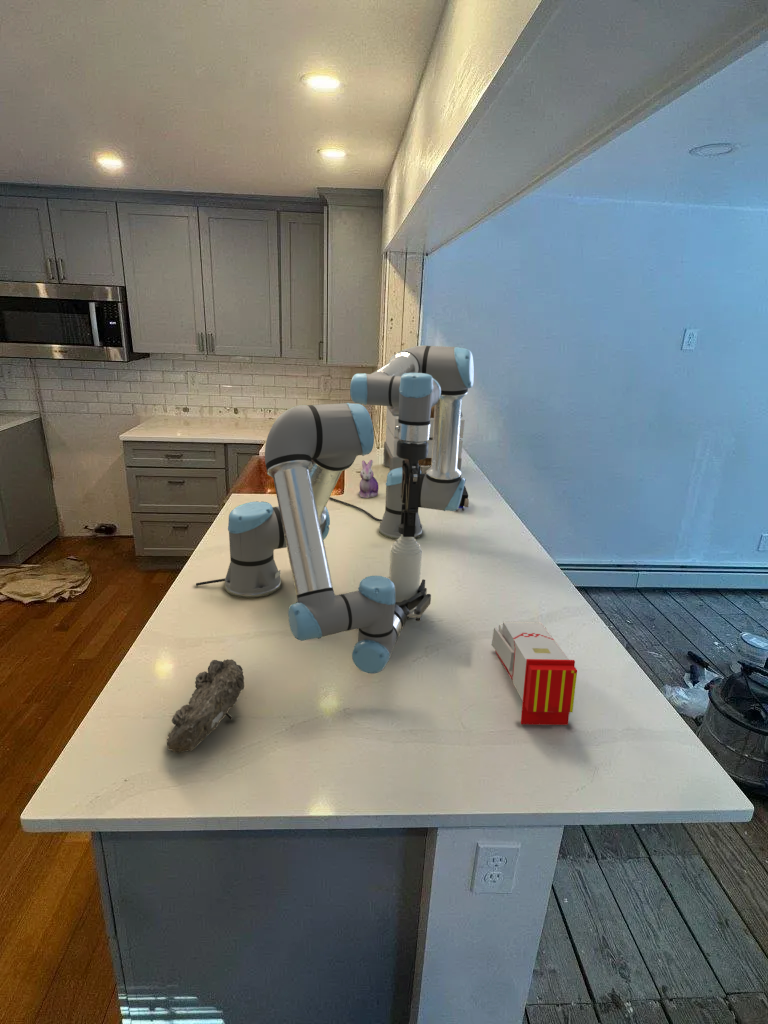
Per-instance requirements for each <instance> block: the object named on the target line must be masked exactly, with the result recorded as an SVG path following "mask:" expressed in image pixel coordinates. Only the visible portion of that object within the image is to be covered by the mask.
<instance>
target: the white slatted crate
mask: <svg viewBox="0 0 768 1024" xmlns="http://www.w3.org/2000/svg"><path fill="white" fill-rule="evenodd" d="M385 414H386V415H385V423H386V428H385V438H384V442H383V466H384V467H388V468H389V472H390V471H391V470H393V469H396V468H401V467H402V461H403V460H405V459H402V458H399V457H398V456H397V455H396V451H397V441H398V440H399V439H398V438H397V436H398V430H395V427H396V426H399V425H398V416H399V407H391V406H386V413H385ZM433 425H434V406H433V407H431V415H430V435H429V440H428V441H427V442H428V444H429V446H428V456H427V458H425V459H423V460H422V459H421V460H419V461H418V463H419V466H420V467H431V462H432V443H433ZM464 429H465V419H464V418H463V411H461V421H460V434H459V448H458V461H457V468H458V469H459V470H460V471H461V472H462V461H463V460H462V453H463V442H464V441H463V440H462V439H463V438H464V431H465V430H464Z"/></svg>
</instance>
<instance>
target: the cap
mask: <svg viewBox="0 0 768 1024" xmlns="http://www.w3.org/2000/svg"><path fill="white" fill-rule="evenodd" d="M403 528H404V523H403V524H400V525H399V533H400V534H402V535H403ZM415 534H416V526H415Z"/></svg>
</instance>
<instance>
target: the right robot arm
mask: <svg viewBox="0 0 768 1024" xmlns="http://www.w3.org/2000/svg"><path fill="white" fill-rule="evenodd" d="M474 366H475V365H474V356H473V352H472V351H471V350H470V349H469V348H465V347H458V346H443V345H442V346H441V345H415V346H411V347H406V348H404V349H402V350H400V351H398V352H396V353H394V354H393V355H392V356H391V357H390V358H389V360H388V362H387V363H385V364H383V365H382V366H381V367H379V368H377V369H376V370H374V371H373V372H371V373H365V372H364V373H355V374H354V375H352V378H351V381H350V385H349V386H350V387H349V394H350V399H351V401H352V402H353V403H354V404H361V405H363V406H379V407H387V406H391V407H399V416H398V425H399V426H396V427H395V430H398V436H397V438H398V439H399V440H398V441H397V451H396V455H397V456H398V457H399V458H402V459H405V460H403V461H402V467H401V468H396V469H393V470H391V471H390V470H389V472H388V473H387V475H386V482H385V504H384V505H385V507H384V508H385V509H384V513H383V515H382V519H381V518H377V517H375V516H373V515H372V514H371V513H370V512H369V511H367V510H365V509H363V508H361V507H359V506H356V505H354V504H352V503H348V502H346V501H343V500H339V499H337V498H334V497H331V496H330V498H329V500H330V501H331V500H332V501H335V502H338V503H340V504H343V505H346V506H349V507H352V508H355V509H357V510H359V511H362V513H365V514H367V515H368V516H369V517H370V518H372V519H373V520H375V521H378V522H379V526H378V533H379V534H380V535H381V536H382V537H385V538H387V539H389V540H395V541H397V539H399V537H401V534H400V533H399V525H400V524H403V523H404V528H403V537H414V538H415V539H418V538H420V537H421V536H422V535H423V523H422V522H421V518H420V515H419V508H422V509H428V510H436V511H443V512H457V511H458V509H459V508H458V507H459V505H460V501H461V498H462V494H463V490H464V486H466V485H465V484H466V478H465V477H462V470H461V471H460V470H459V469H458V468H457V461H458V448H459V434H460V421H461V418H462V417H461V412H462V406H463V398H464V397H465V396H466V395H467V394H468V391H469V389H471V388H473V386H474V382H475V381H474V376H475V371H474V370H475V367H474ZM433 406H434V425H433V443H432V462H431V465H430V466H429V468H427V470H426V472H425V473H422V469H421V468H422V466H419V463H418V461H419V460H421V459H422V460H423V459H425V458H427V456H428V446H429V444H428V442H427V441H428V440H429V435H430V415H431V407H433ZM456 510H457V511H456ZM415 526H416V534H415Z"/></svg>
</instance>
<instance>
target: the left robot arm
mask: <svg viewBox="0 0 768 1024" xmlns="http://www.w3.org/2000/svg"><path fill="white" fill-rule="evenodd" d="M374 443H375V433H374V424H373V421H372V417H371V415H370V413H369V410H368V409H367V408H366V406H365V405H364V404H359V403H350V402H344V403H343V402H342V403H325V404H323V403H322V404H308V405H307V404H299V405H294V406H292V407H290V408H288V409H286V410H285V411H283V412H282V413H281V414H280V415H278V417H277V418H276V419H275V421H274V422H273V424H272V426H271V428H270V430H269V431H268V434H267V438H266V441H265V446H264V463H265V464H264V465H265V468H266V469H265V470H266V474H267V475H268V476H269V477H271V478H272V479H273V484H274V485H273V486H274V489H275V494H276V495H275V496H276V499H277V505H278V506H273V505H272V503H270V502H268V501H259V500H258V501H257V500H256V501H250V502H249V501H248V502H245V503H242V504H240V505H237V506H236V507H234V508H233V509H232V510H231V511H230V512H229V515H228V526H227V530H228V540H229V541H228V543H229V556H230V558H229V561H230V562H229V565H228V568H227V572H226V575H225V578H219V579H218V578H217V579H212V580H207V581H199V582H196V583H195V586H196V587H197V586H203V585H209V584H215V583H221V582H224V589H225V592H227V593H228V594H230V595H232V596H233V597H236V598H243V599H257V598H262V597H266V596H270V595H272V594H274V593H276V592H277V591H278V590H279V589H280V588H281V586H282V578H281V569H278V566H277V564H276V562H275V558H274V557H275V555H274V554H275V553H274V552H275V550H280V549H287V555H288V561H289V565H290V570H291V575H292V580H293V585H294V591H295V596H296V602H295V603H291V604H290V606H289V608H288V612H287V614H288V625H289V629H290V631H291V634H292V636H293V637H294V638H295V639H296V640H297V641H299V642H303V641H310V640H316V639H322V638H324V637H328V636H331V635H332V636H333V635H336V634H340V633H344V632H349V631H355V630H357V642H356V643H355V645H354V646H353V650H352V653H351V658H352V662H353V664H354V666H355V667H356V668H357V669H358V670H360V672H363V673H365V674H369V675H370V674H371V675H372V674H378V673H380V672H381V671H383V670H384V669H385V667H386V666H387V664H388V663H389V661H390V660H391V655H392V654H393V650H394V648H395V646H396V644H397V641H398V639H399V638H400V635H401V633H402V631H403V628H404V627H405V623H406V621H408V620H409V619H410V618H409V617H411V618H413V619H414V618H415V621H416V622H420V621H421V616H422V615H423V614H424V613H425V611H426V610H427V609H428V607H430V605H431V601H432V594H431V593H427V592H428V589H427V587H426V579H424V578H423V579H422V580H421V581H420V584H419V588H418V593H417V594H416V595H414V596H413V597H411V598H410V599H408V600H403V601H402V602H395V601H396V600H395V586H394V583H393V582H392V581H391V580H390V579H389V577H386V576H382V575H368V576H365V578H362V579H361V580H360V581H359V585H358V588H357V589H358V590H356V591H350V592H344V593H341V594H335V590H334V585H333V581H332V576H331V571H330V565H329V562H328V561H329V560H328V556H327V551H326V546H325V543H324V542H325V539H326V538H327V536H329V535H328V534H329V532H330V525H331V518H330V513H329V510H328V508H327V504H328V502H329V500H330V499H329V498H330V497H331V496H332V494H333V492H334V489H335V487H336V485H337V483H338V481H339V479H340V477H341V474H342V473H343V471H345V470H348V469H350V468H351V467H352V465H354V462H355V461H356V459H357V457H358V456H362V457H364V456H367V455H369V454H371V452H372V451H373V448H374V445H375V444H374ZM416 606H417V607H416ZM415 607H416V608H415ZM413 608H414V610H413V611H412V612H410V610H412V609H413Z"/></svg>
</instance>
